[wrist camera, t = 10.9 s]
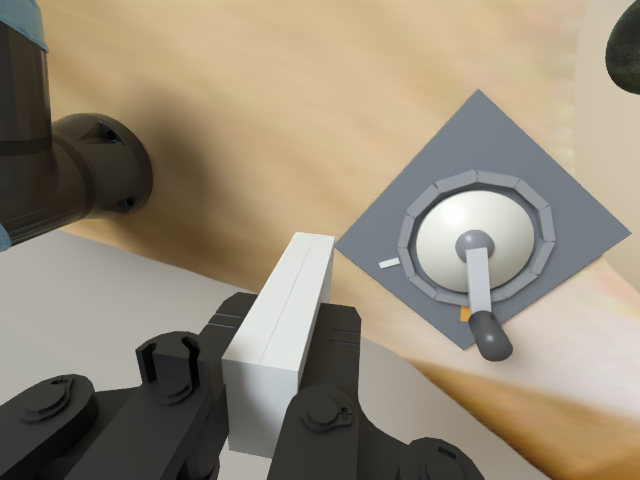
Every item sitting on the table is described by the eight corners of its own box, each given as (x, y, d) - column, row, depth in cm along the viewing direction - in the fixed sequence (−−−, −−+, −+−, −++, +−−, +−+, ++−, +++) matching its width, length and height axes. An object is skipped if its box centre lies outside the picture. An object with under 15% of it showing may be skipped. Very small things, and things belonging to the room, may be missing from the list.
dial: (408, 201, 41) (416, 223, 33) (528, 178, 38) (566, 197, 30) (427, 324, 48) (437, 365, 40) (530, 314, 44) (562, 357, 37)
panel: (461, 345, 50) (465, 356, 47) (334, 244, 46) (332, 250, 44) (626, 230, 39) (640, 237, 37) (476, 89, 36) (482, 88, 34)
